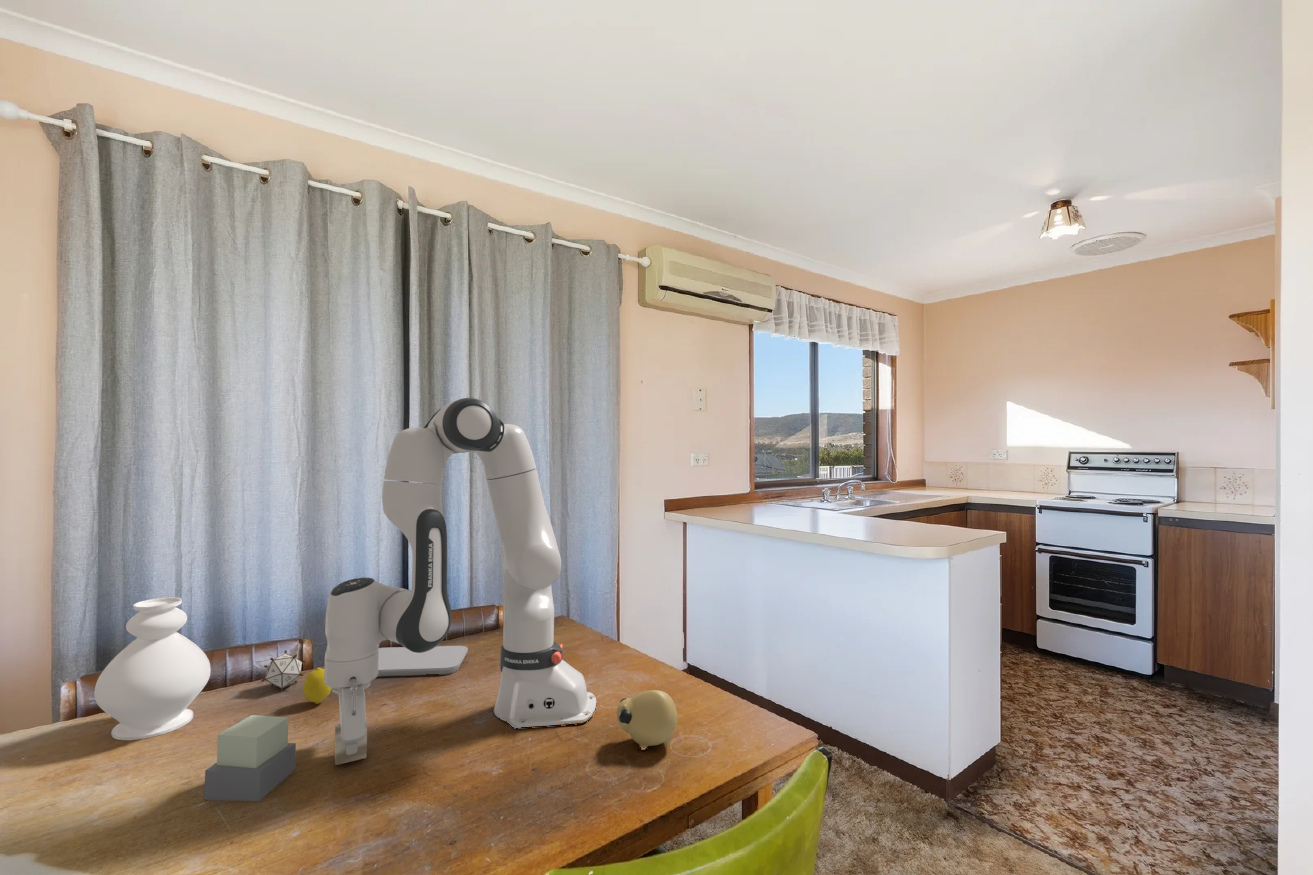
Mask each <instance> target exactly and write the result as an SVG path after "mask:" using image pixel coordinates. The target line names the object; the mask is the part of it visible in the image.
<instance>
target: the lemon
mask: <svg viewBox="0 0 1313 875" xmlns="http://www.w3.org/2000/svg"><path fill="white" fill-rule="evenodd" d="M324 669H325V668H321V667H316V669H314V670H312V671H310V672H309V673H308V674H307V676H306V678H305V679H304V682H303V696H304V697H305V699H306V700H307V701H309V702H311V703H314V704H316V705H318V704H320V703H321V701H324V700H325V699H326V698H327V697H328V696H329V695H330V693H331V691H332V687H329V686H327V685H325V683H324V672H325V670H324Z"/></svg>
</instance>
